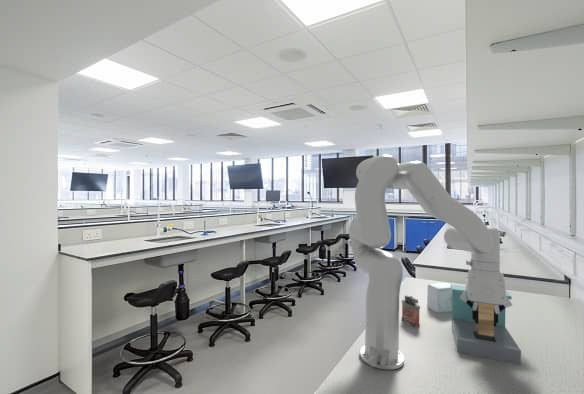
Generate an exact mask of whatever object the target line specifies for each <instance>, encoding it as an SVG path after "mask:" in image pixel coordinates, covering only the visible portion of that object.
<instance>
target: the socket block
mask: <svg viewBox="0 0 584 394" xmlns="http://www.w3.org/2000/svg"><path fill="white" fill-rule="evenodd" d="M451 290H452V311H451V330H452V335H453V340H454V344H455V349H456V352H458V353H464V354H466V355H467V354H468V355H473V356H476V357H477V356H478V357H482V358H487V359H491V360H492V359H493V360H497V361H502V362H507V363H512V364H517V365H522V364H521V363H522V362H521V361H522V359H521V358H522V350H521V349H520V347H519V346H518V344H517V343H516V341H515V339H514V338H513V337H512V335H511V333H510V331H509V330H508V329H507V327H506V308H505V309H504V310H502V311H501V312H500V313H499V314H498V323H496V327H495V326H494V337H491V336H486V335H480V334H478V332H477V329H476V323H475V320H474V319H472V308H471V307H470V306H469V305H468V304H467V303H466V302H464V301H463V300H461V299H460V296H461V294H462V293H463V292H464V291H465V290H466V286H465V285H460V284H459V285H457V284H452V285H451ZM506 296H507V298H508V299H509V300H510V301H511V300H512V295H511V294H510V293H509V291H506ZM466 298H467V299H468V297H466ZM471 302H472V301H471Z"/></svg>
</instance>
